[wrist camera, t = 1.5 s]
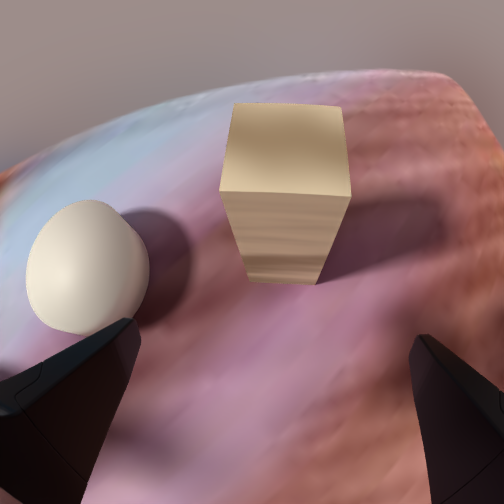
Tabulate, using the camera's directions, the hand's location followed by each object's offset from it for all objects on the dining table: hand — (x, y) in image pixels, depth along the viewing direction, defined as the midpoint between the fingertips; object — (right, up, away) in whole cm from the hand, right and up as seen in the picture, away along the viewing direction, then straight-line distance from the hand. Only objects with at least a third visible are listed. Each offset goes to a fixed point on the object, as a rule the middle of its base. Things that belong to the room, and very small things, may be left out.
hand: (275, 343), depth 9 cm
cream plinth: (-15, +1, +16) cm, 22 cm away
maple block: (+2, +3, +15) cm, 16 cm away
